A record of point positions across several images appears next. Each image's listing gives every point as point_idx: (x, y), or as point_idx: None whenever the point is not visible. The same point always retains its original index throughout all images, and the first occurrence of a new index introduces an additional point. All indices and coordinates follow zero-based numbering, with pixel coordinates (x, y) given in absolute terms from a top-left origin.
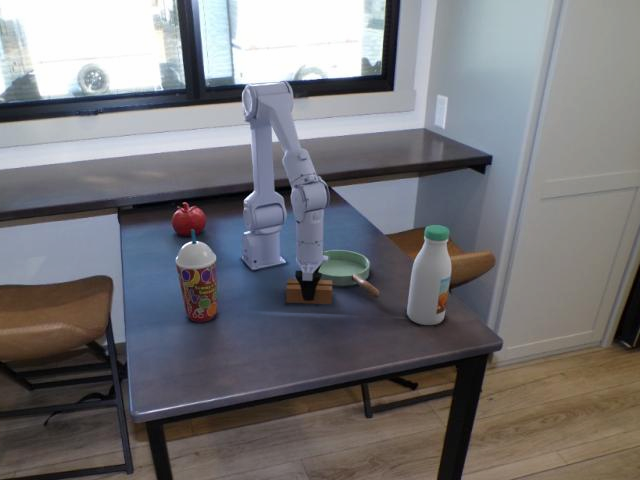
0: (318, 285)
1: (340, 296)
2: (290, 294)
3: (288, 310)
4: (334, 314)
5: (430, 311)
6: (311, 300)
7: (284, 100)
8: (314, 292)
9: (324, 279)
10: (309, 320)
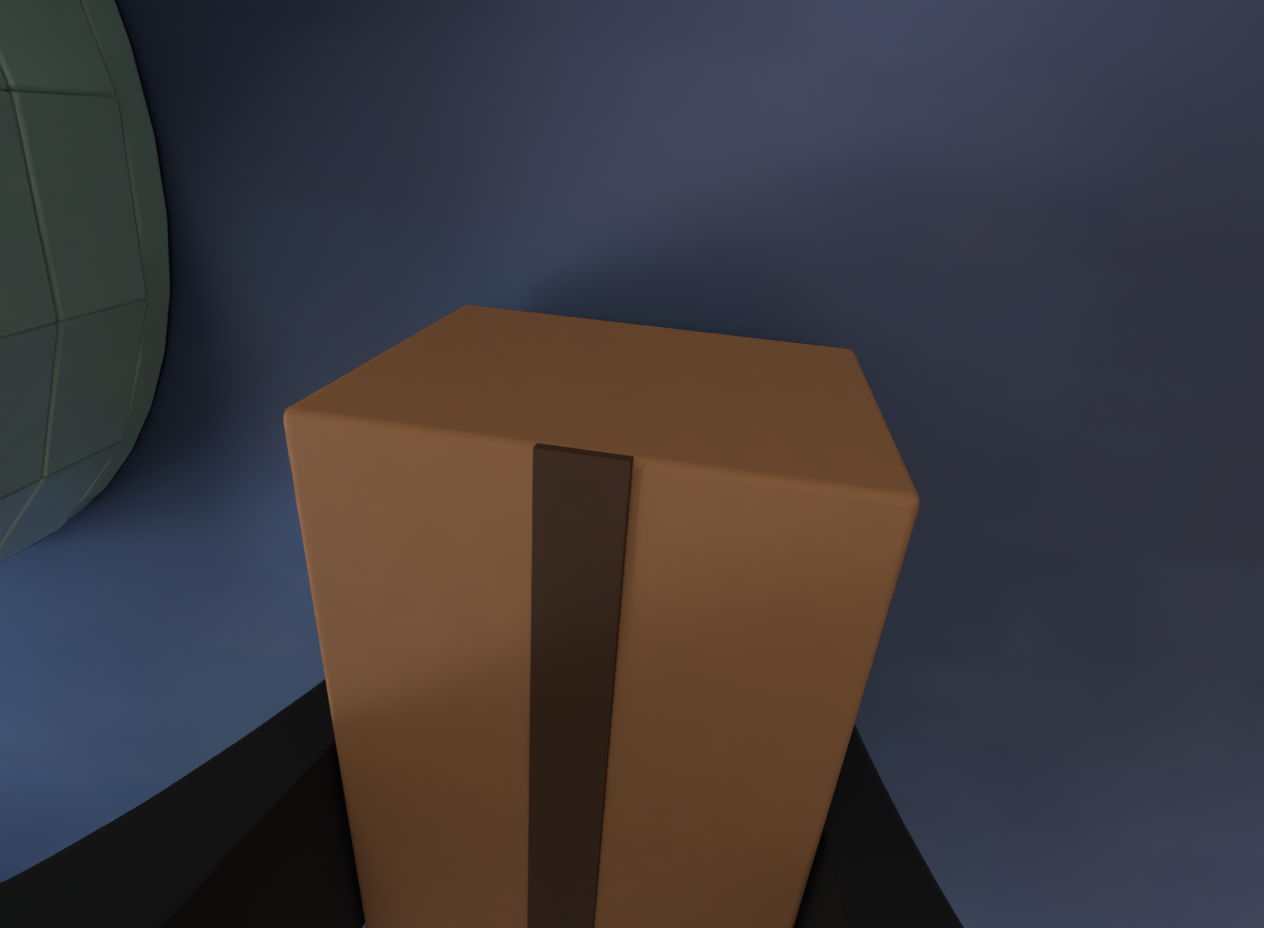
0: (610, 765)
1: (487, 120)
2: None
3: None
4: (1202, 306)
5: None
6: None
7: None
8: (924, 865)
9: (61, 431)
10: (1257, 712)
